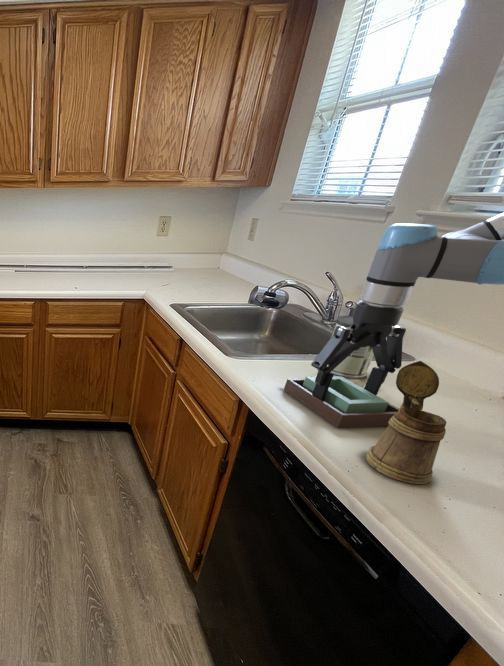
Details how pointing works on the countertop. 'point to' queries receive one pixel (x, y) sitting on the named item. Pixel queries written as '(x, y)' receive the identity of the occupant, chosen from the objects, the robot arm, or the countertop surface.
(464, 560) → the countertop surface
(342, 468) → the countertop surface
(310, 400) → the tray
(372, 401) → the frame
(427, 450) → the wooden mug
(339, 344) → the robot arm
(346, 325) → the coffee can
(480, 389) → the countertop surface
